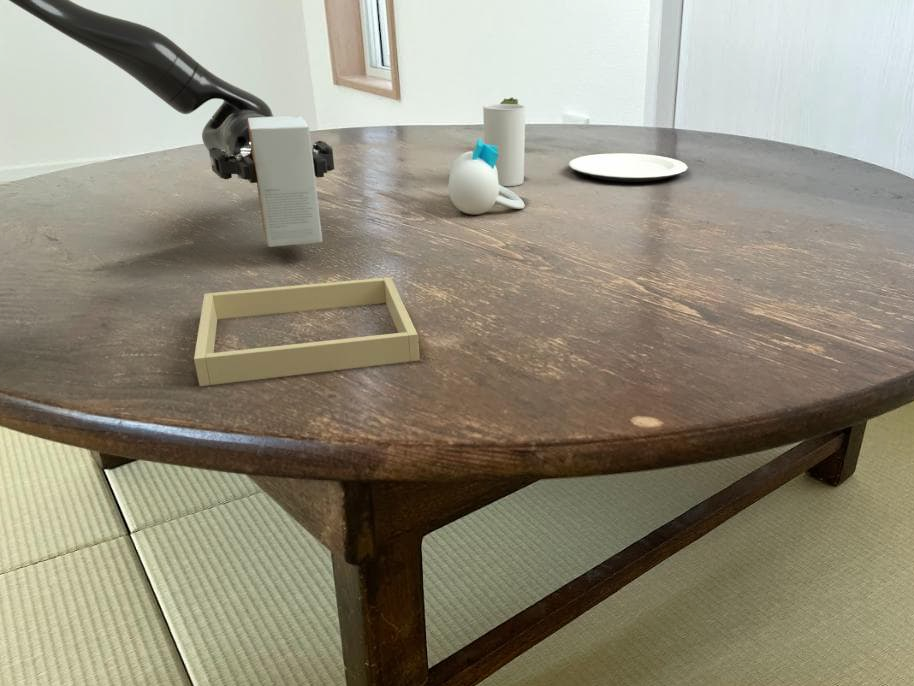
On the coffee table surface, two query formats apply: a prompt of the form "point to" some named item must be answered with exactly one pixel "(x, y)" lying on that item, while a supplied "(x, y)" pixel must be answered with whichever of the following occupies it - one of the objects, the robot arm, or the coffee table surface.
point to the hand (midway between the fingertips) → (287, 170)
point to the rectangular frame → (302, 355)
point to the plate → (628, 167)
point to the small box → (285, 180)
